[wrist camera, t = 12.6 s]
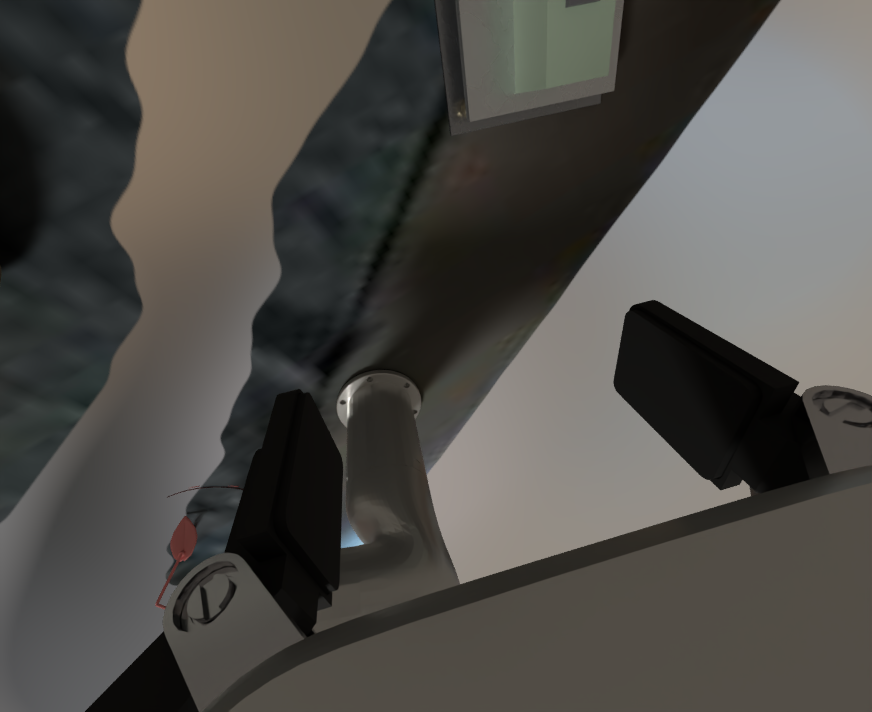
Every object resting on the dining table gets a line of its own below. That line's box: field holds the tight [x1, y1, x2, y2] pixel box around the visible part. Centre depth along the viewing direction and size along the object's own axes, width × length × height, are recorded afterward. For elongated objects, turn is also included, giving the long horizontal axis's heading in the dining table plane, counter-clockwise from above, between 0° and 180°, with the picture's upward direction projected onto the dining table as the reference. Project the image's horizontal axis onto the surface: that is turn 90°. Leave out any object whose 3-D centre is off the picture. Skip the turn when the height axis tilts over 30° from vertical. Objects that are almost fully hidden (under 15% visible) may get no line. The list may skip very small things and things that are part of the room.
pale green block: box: [513, 0, 616, 94], centre depth 26 cm, size 9×5×7 cm, turn 10°
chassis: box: [434, 0, 624, 136], centre depth 30 cm, size 14×16×4 cm
